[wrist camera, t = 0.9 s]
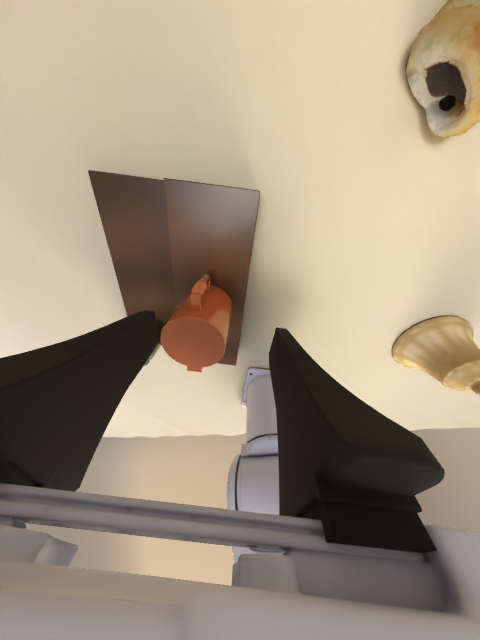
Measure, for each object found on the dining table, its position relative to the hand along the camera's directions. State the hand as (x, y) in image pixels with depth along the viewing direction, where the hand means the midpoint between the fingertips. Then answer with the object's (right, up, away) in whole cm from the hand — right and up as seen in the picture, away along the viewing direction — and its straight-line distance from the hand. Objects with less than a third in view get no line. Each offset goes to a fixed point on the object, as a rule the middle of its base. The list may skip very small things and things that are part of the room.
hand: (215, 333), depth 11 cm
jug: (-2, +2, +7) cm, 8 cm away
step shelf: (-5, +5, +9) cm, 12 cm away
